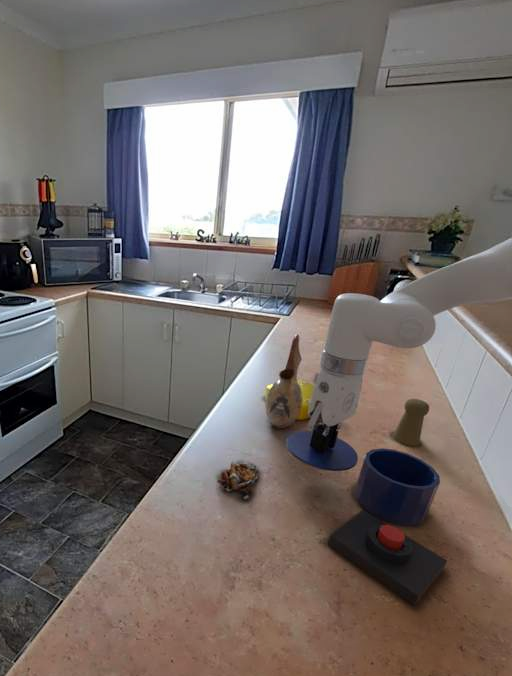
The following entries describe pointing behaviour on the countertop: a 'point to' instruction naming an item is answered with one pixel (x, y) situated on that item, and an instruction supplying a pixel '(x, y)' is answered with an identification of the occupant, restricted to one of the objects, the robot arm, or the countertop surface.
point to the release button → (391, 537)
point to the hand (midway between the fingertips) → (321, 446)
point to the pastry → (239, 478)
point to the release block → (388, 557)
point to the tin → (396, 486)
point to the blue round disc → (330, 460)
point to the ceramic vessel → (286, 392)
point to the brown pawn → (411, 422)
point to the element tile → (306, 398)
